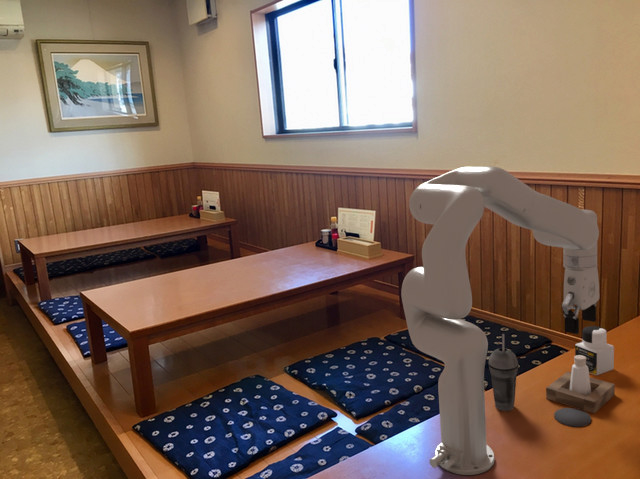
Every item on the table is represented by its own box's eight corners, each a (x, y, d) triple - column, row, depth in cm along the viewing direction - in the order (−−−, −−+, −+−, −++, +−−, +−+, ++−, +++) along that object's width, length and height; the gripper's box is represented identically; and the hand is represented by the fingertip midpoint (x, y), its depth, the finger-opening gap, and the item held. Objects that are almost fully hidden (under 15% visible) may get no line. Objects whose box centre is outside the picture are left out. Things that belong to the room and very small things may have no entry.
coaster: (581, 430, 126) (582, 429, 126) (548, 419, 132) (548, 417, 132) (596, 416, 131) (596, 415, 131) (563, 406, 137) (563, 404, 137)
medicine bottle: (574, 367, 157) (574, 327, 154) (592, 360, 160) (592, 322, 157) (596, 376, 150) (596, 335, 148) (614, 369, 153) (614, 329, 151)
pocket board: (594, 413, 132) (594, 402, 132) (546, 398, 141) (546, 387, 141) (614, 394, 140) (614, 383, 139) (567, 381, 149) (567, 371, 148)
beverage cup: (515, 398, 142) (513, 326, 139) (523, 413, 135) (521, 337, 131) (487, 400, 143) (484, 327, 139) (492, 414, 136) (490, 338, 132)
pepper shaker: (577, 403, 137) (577, 362, 135) (564, 393, 143) (563, 354, 140) (596, 399, 138) (597, 359, 136) (582, 390, 144) (582, 351, 141)
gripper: (579, 271, 125) (580, 341, 129) (610, 254, 136) (610, 319, 140) (548, 267, 131) (549, 334, 134) (580, 251, 142) (580, 313, 145)
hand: (580, 326), depth 137 cm, fingers open, 9 cm apart
